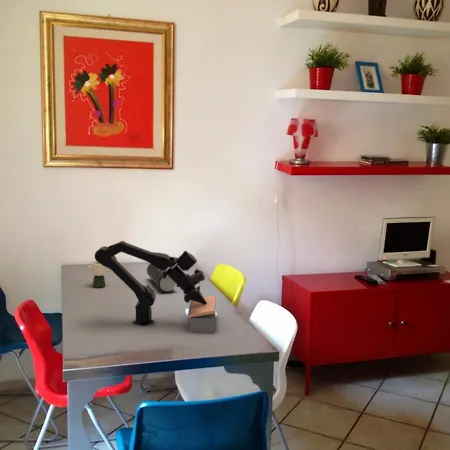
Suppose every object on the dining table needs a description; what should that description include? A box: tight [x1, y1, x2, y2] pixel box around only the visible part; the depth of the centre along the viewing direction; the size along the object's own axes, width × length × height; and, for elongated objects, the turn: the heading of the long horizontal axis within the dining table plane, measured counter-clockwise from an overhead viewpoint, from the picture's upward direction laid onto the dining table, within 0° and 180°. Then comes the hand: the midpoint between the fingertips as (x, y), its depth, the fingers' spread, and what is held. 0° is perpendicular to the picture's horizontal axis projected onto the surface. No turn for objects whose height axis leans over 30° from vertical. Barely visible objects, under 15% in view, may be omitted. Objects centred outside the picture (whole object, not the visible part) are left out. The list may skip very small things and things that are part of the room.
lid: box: [187, 295, 216, 317], centre depth 223 cm, size 11×20×1 cm, turn 0°
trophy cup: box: [87, 260, 111, 288], centre depth 272 cm, size 11×7×13 cm, turn 102°
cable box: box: [189, 302, 217, 334], centre depth 228 cm, size 10×29×6 cm, turn 0°
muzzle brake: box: [146, 263, 177, 292], centre depth 276 cm, size 10×28×10 cm, turn 21°
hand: (205, 303), depth 223 cm, fingers closed, pressing on lid
